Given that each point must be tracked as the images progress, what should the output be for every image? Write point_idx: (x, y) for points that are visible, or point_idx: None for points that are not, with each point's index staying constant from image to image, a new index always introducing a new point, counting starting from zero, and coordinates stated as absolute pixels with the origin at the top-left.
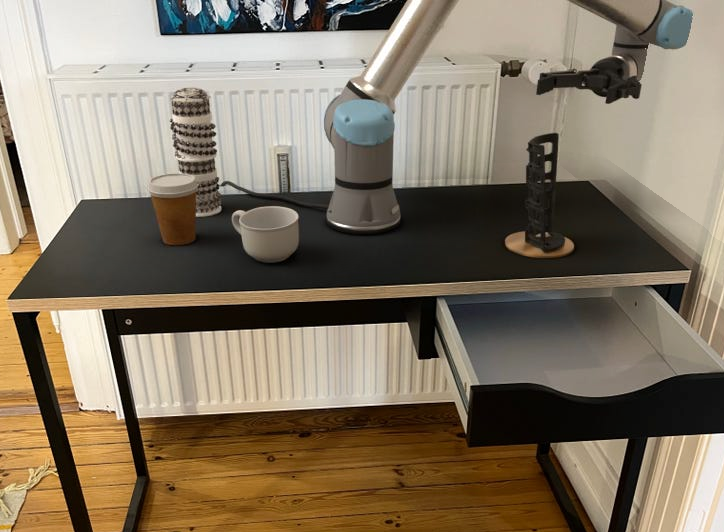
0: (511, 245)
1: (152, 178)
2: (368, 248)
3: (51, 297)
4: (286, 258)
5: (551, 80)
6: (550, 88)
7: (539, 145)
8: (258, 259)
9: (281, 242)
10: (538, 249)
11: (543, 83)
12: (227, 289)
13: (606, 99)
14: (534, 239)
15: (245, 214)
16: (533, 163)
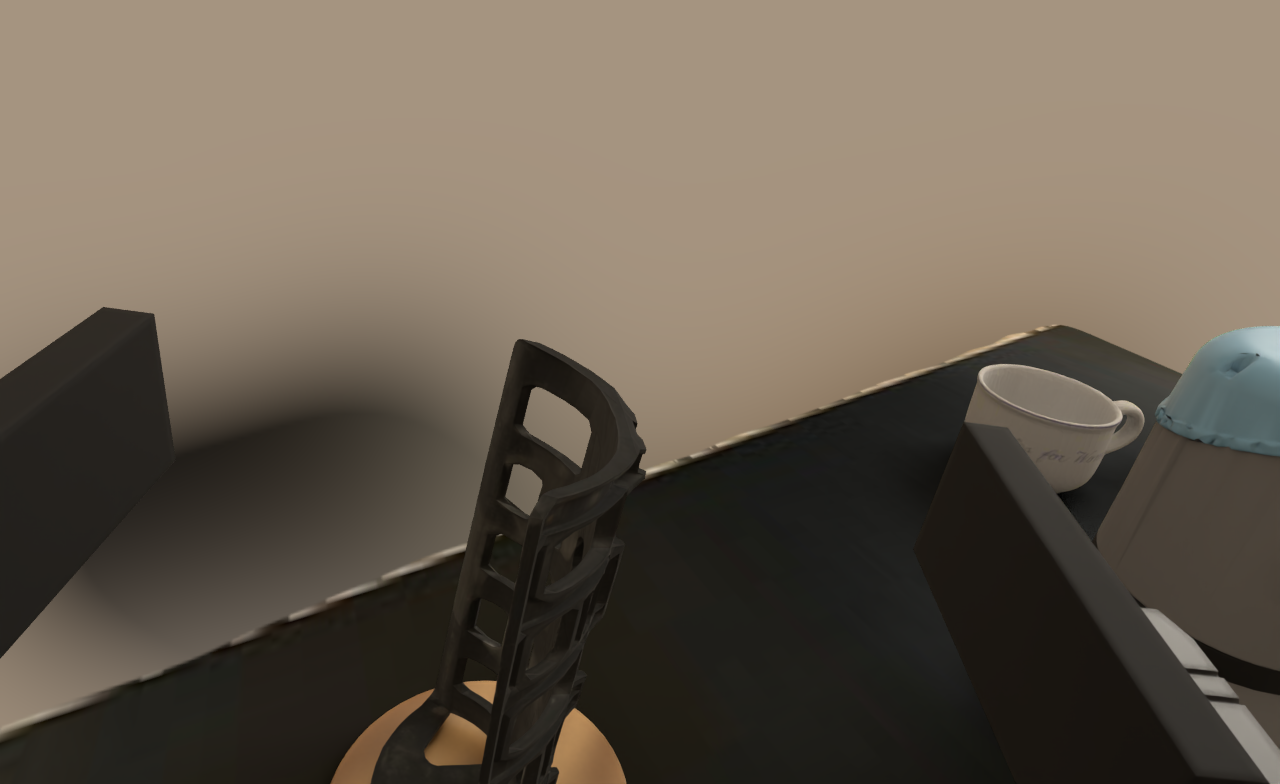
0: (575, 725)
1: None
2: (918, 568)
3: (1045, 330)
4: None
5: (1092, 701)
6: (1039, 780)
7: (545, 346)
8: None
9: (969, 405)
10: (466, 733)
11: (974, 501)
12: (919, 381)
13: (162, 424)
14: (490, 702)
15: (1100, 396)
16: (571, 468)
